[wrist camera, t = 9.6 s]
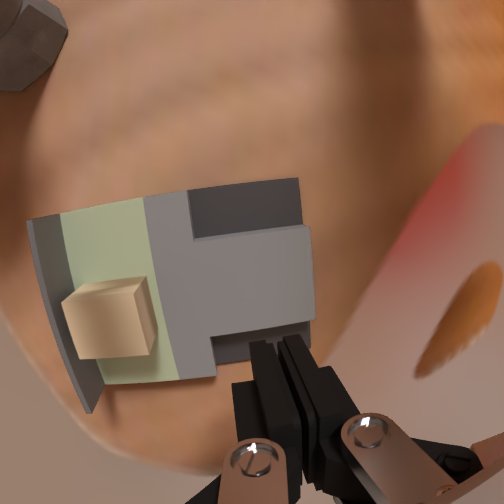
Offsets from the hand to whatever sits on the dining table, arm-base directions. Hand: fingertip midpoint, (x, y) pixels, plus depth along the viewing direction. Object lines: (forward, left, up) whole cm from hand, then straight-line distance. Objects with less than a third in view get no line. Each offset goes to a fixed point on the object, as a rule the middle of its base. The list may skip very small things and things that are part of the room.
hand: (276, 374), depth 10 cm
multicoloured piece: (+4, +1, -14) cm, 15 cm away
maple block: (+9, +1, -12) cm, 15 cm away
